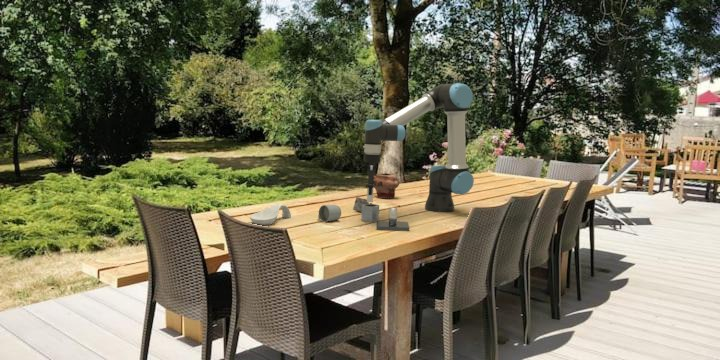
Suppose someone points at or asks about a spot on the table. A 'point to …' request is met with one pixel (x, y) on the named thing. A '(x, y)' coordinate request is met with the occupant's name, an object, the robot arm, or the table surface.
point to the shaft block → (392, 222)
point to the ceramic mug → (329, 213)
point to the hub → (370, 213)
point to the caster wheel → (359, 204)
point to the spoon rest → (270, 214)
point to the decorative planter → (385, 185)
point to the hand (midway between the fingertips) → (369, 199)
